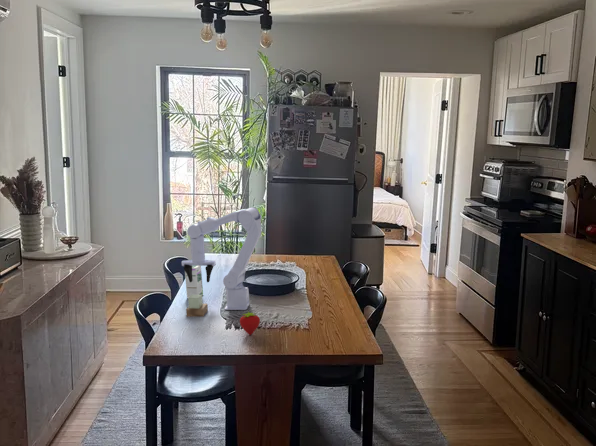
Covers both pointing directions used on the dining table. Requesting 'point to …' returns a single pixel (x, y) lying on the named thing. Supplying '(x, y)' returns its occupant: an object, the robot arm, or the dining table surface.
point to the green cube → (195, 301)
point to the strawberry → (249, 322)
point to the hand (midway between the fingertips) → (199, 281)
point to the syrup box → (194, 282)
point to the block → (197, 311)
